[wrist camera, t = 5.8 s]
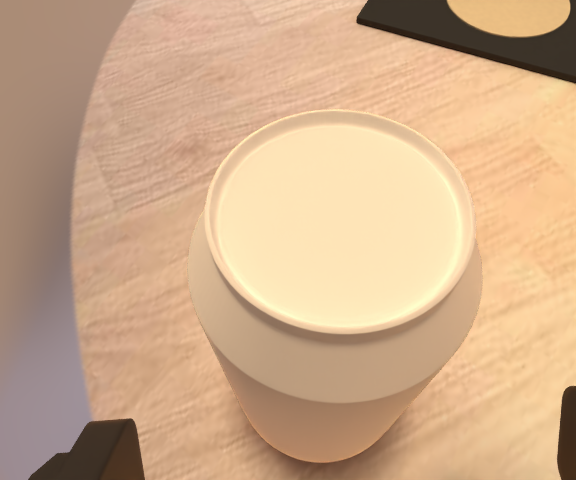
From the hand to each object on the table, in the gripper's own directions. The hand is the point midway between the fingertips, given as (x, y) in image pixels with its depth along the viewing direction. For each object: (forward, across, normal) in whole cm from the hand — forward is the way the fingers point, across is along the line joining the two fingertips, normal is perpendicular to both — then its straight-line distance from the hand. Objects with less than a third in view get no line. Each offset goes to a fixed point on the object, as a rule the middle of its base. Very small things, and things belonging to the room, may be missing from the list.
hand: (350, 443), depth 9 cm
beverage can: (+9, 0, +4) cm, 10 cm away
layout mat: (+26, -14, -12) cm, 32 cm away
